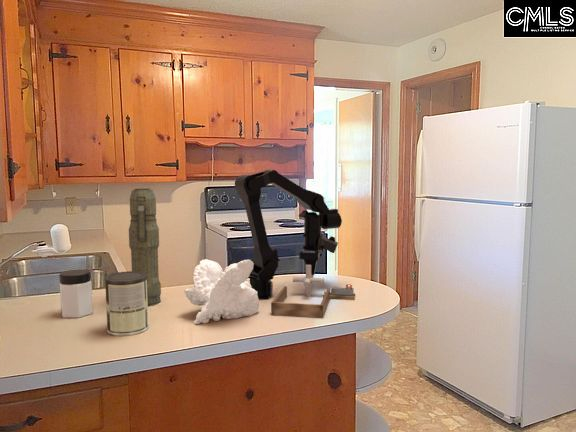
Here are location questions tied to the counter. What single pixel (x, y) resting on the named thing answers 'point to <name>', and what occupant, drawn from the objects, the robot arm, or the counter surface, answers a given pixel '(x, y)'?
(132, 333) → the coffee can
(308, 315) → the dock cradle
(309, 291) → the pipe connector
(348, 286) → the pin
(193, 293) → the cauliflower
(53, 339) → the counter surface
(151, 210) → the thermos
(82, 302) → the jar
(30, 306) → the counter surface
